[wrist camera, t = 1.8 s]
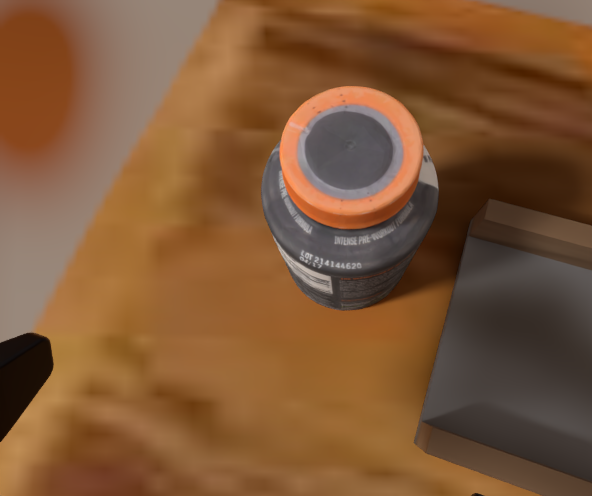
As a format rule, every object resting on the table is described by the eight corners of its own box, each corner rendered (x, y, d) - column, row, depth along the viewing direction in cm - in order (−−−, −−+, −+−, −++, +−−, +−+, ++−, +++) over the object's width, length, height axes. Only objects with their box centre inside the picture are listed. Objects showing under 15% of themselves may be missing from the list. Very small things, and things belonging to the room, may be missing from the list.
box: (679, 538, 19) (740, 567, 16) (413, 443, 21) (426, 453, 18) (708, 286, 21) (766, 271, 19) (470, 220, 23) (489, 198, 20)
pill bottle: (402, 198, 24) (457, 48, 13) (407, 312, 22) (475, 249, 11) (287, 199, 24) (249, 55, 14) (284, 311, 23) (238, 250, 12)
